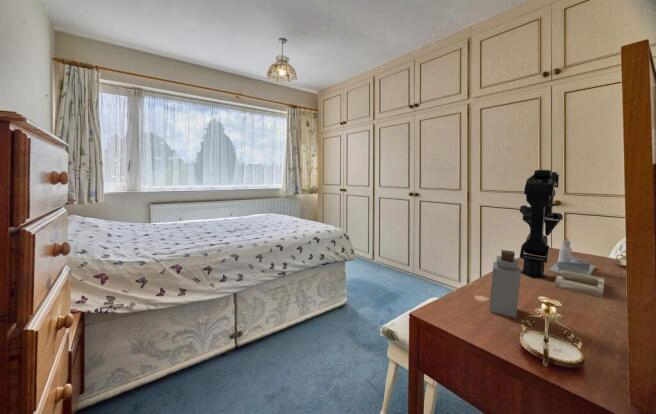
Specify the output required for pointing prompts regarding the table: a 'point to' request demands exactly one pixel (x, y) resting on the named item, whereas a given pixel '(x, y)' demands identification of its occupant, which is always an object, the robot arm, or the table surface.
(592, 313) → the table surface
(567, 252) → the eye dropper bottle
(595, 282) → the beige square frame
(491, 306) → the perfume bottle
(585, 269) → the silver tray
